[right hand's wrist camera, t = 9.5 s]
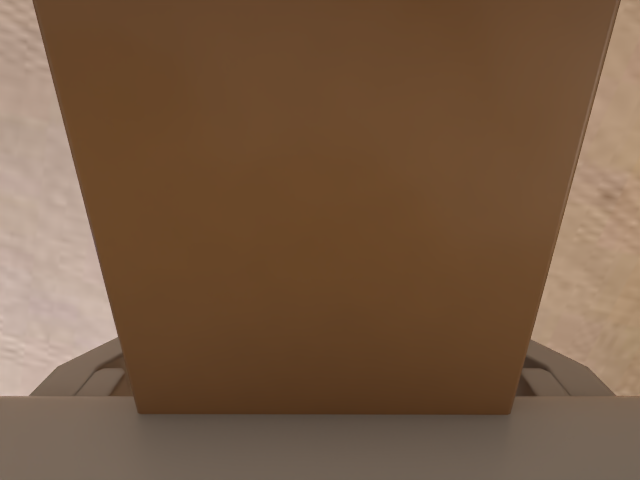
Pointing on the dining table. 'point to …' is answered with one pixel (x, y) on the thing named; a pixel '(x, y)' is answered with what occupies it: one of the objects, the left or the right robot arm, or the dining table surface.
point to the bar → (325, 191)
